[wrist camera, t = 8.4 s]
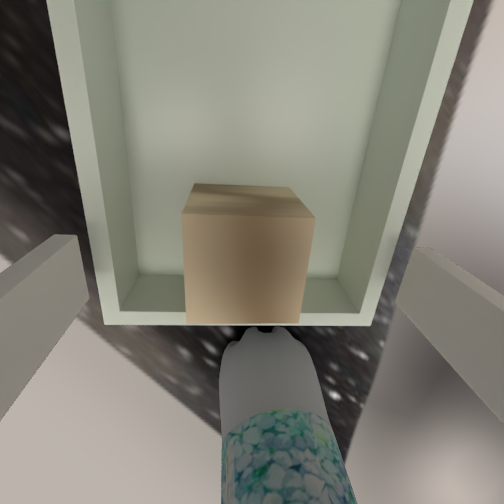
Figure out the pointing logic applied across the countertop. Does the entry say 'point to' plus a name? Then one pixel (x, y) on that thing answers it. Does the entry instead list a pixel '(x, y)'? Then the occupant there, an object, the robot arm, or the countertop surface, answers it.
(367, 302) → the tote
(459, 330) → the robot arm
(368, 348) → the countertop surface
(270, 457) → the bottle
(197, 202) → the cube
